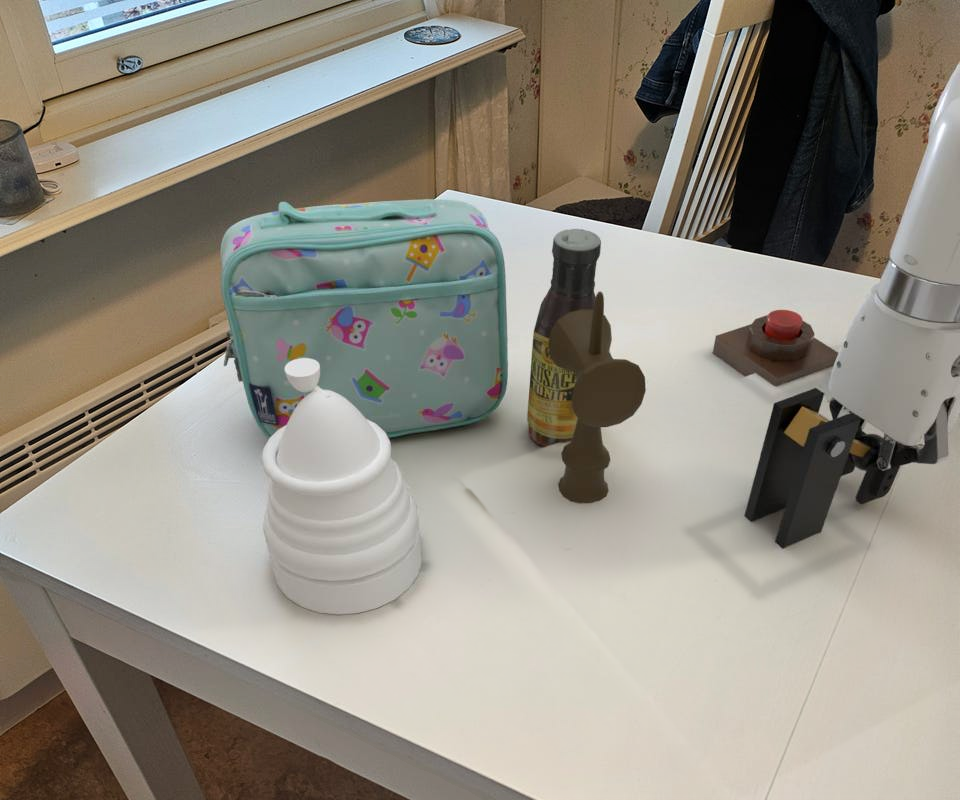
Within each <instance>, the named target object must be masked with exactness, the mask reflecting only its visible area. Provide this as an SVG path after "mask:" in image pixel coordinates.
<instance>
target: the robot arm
mask: <svg viewBox="0 0 960 800" xmlns="http://www.w3.org/2000/svg"><path fill="white" fill-rule="evenodd" d="M927 135H928V136H927V140H928V141H927V145H926V148H925V150H924V154H923V157H922V160H921V162H920V165H919V168H918V171H917V174H916V176H915V180H914V182H913V185H912V188H911V191H910V194H909V197H908V199H907V202H906V206H905V209H904V211H903V213H902V216H901V220H900V221H899V225H898V228H897V230H896V233H895V236H894V239H893V242H892V245H891V248H890V251H889V253H888V256H887V259H886V262H885V265H884V268H883V270H882V274H881V275H880V276H881V277H880V278H879V282H878V283H877V284H874V285H873V286H872V287H871V288H870V290H869V291H868V293H867V294H866V296H865V298H864V299H863V300H862V302H861V304H860V306H859V308H858V309H857V312H855V313H856V314H855V315H854V317H853V319H852V321H851V323H850V326H849V327H848V329H847V332H846V334H845V336H844V339H843V340H842V343H841V346H840V348H839V351H838V356H837V358H836V361H835V363H834V366H832V369H831V371H830V372H828V373H827V374H826V375H825V376H824V377H823V378H822V379H820V381H819V383H818V384H819V385H818V386H819V388H820V389H819V390H820V391H821V392H823V393H824V398H825V400H826V401H827V403H829V404H828V407H829V411H830V415H831V418H832V420H833V419H836V418H839V417H841V416H844V415H846V414H849V413H851V412H852V413H854V414H855V415H857V416H858V417H860V418H861V420H860V423H859V426H858V429H857V432H856V435H855V437H854V439H858V438H859V437H861V436H863V435H866V434H867V433H866V432H864V431H863V430H864V429H865V427H866V425H867V424H870V425H871V426H873V427H874V428H876V429H877V430H879V431H880V432H881V433H882V434H883V436H882V437H883V441H882V444H881V448H880V451H879V455H878V459H877V462H874V463H871V464H870V465H869V466H868V468H867V470H866V471H865V473H864V475H863V478H862V480H861V482H860V485H859V488H858V490H857V492H856V495H855V502H856V503H858V504H859V505H864V504H867V503H869V502H872V501H874V500H878V499H881V498H883V497H886V496H887V495H888V494H889V492H890V491H891V489H892V487H893V485H894V481H895V479H896V477H897V474H898V472H899V471H900V469H901V466H905V465H909V464H913V463H914V464H922V465H923V464H924V465H936V464H939V463H941V462H944V461H946V460H948V458H949V452H950V451H949V433H950V432H952V430H953V428H954V426H955V424H956V422H957V420H958V419H959V416H960V61H959V62H958V64H957V65H956V67H955V69H954V71H953V72H952V74H951V76H950V78H949V79H948V81H947V83H946V85H945V87H944V89H943V91H942V92H941V94H940V95H939V98H938V101H937V103H936V106H935V107H934V110H933V113H932V116H931V118H930V124H929V128H928V134H927ZM922 436H923V437H922ZM921 438H923V441H924V444H922V443H919V442H920V441H921ZM855 468H856V467H855V466H854V465H853V464H852V462H851V460H850V453H849V455H848V457H847V460H846V463H845V466H844V469H843V472H842V474H841V477H843V476H846V475H849V474H852V473H853V472H854V471H855Z"/></svg>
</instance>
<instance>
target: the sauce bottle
mask: <svg viewBox="0 0 960 800" xmlns="http://www.w3.org/2000/svg"><path fill="white" fill-rule="evenodd" d="M552 240H553V242H552V250H551V253H552V257H553V262H552V266H553V267H552V275H551V279H550V287H549V289H548V291H547V293H546V295H545V296H544V297H543V299H542V301H541V302H540V306H539V309H538V314H537V317H536V321H535V325H534V329H533V333H532V334H533V335H532V347H531V357H530V359H531V362H530V373H529V385H528V386H529V387H528V401H527V413H526V419H527V425H528V435H529V437H530V438H531V439H532V441H534V442H535V443H536V444H537V445H539V446H541V447H542V448H546V447H549V446H550V447H551V446H552V445H555V444H559V443H567V442H571V440H572V437H573V434H574V431H575V427H576V423H577V419H578V418H577V416H576V415H575V413H574V412H573V405H572V394H573V390H574V386H575V382H576V380H577V378H576V376H575V374H574V372H573V371H567V370H565V369H562V368H560V367H558V366H556V365H555V363H554V362H553V360H552V359H551V357H550V354H549V346H548V342H549V337H550V333H551V330H552V328H553V327H554V325H555V324H556V322H557V320H559V319H560V318H562V317H563V316H564V315H566V314H567V313H569V312H573V311H577V310H580V309H587V310H593V309H594V302H595V298H596V293H595V287H596V282H595V278H596V271H597V262H598V260H599V259H600V256H601V251H602V250H601V249H602V240H601V237H599V236H598V234H596V233H595V232H592V231H590V230H585V229H583V228H581V229H580V228H571V229H564V230H561V231H558V232H557V233H556V234H555V235H554V237H553V239H552Z"/></svg>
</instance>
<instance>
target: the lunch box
mask: <svg viewBox="0 0 960 800" xmlns="http://www.w3.org/2000/svg"><path fill="white" fill-rule="evenodd" d="M220 263H221V271H222V272H221V277H220V290H221V292H220V293H221V297H222V301H223V306H224V308H225V313H226V317H227V321H228V325H229V329H230V331H227V332H226V333H225V335H226V337H228V338H230V342H228V343H227V345H226V349H225V355H224V359H223V367H226V366H227V365H228V362H229V359H233V363H234V365H235V370H236V375H237V380H238V382H239V383H241V382H242V386H243V388H244V392H245V397H246V400H247V404H248V406H249V409H250V412H251V414H252V417H253V420H254V422H255V423H256V424H257V426H258V428H259V429H260V431H261V432H262V433H263V434H264V435H265V436H266V438H267V439H269V438H270V437H271V436H272V435H273V434H274V433H275V432H276V431H278V430H279V429H280V428H282V427H284V426H285V425H287V423H288V421H289V419H290V417H291V415H292V413H293V411H294V410H295V408H296V406H297V405H298V404H299V402H300V401H301V400H302V399H303V398H304V397H305V396H307V395H308V394H309V393H311V391H309V392H300V391H298V390H296V389H295V388H294V387H293V386H292V385H291V384H290V382H289V381H288V379H287V376H286V373H285V370H284V369H285V366H286V364H287V363H289V362H290V361H292V360H295V359H299V358H310V359H314V360H316V361H317V362H318V363H319V365H320V378H319V381H318V384H317V386H319V387H320V388H321V389H322V390H330V391H333V392H335V393H338V394H340V395H341V396H343V397H344V398H346V399H347V400H348V401H349V402H350V403H352V404H353V405H354V406H355V407H356V408H357V409H358V410H359V411H360V412H361V414H362V415H363V416H364V417H365V418H366V419H368V420H370V421H372V422H374V423H376V424H377V425H378V426H379V427H380V428H381V429H382V430H383V431H384V432H385V433H386V435H387V437H388V438H389V439H390V438H391V439H392V438H395V437H401V436H404V435H410V434H419V433H423V432H431V431H432V432H433V431H439V430H443V429H448V428H454V427H459V426H460V427H461V426H467V425H471V424H475V423H476V422H479V421H481V420H482V419H484V418H486V417H488V416H489V415H490V414H491V413H493V412H494V411H495V410H496V409H497V408H498V407H499V406H500V404H501V402H502V400H503V399H504V396H505V395H506V392H507V388H508V379H509V359H508V356H509V355H508V354H509V353H508V352H509V351H508V348H509V347H508V341H509V340H508V339H509V338H508V312H507V311H508V310H507V285H506V284H507V282H506V265H505V257H504V252H503V248H502V245H501V243H500V241H499V238H498V237H497V236H496V234H494V233H493V231H491V230H490V226H489V223H488V222H487V219H486V217H485V216H484V214H483V213H482V212H481V211H480V210H479V209H478V208H477V207H476V206H474V205H473V204H470V203H468V202H465V201H461V200H456V199H438V198H436V199H434V198H430V199H429V198H425V199H424V198H423V199H404V200H402V199H401V200H384V201H372V202H369V201H368V202H358V203H343V204H327V205H317V206H307V207H306V206H305V207H298V208H294V207H293V206H292V205H291V204H290V203H288V202H286V201H280V203H278V210H276V211H271V212H266V213H262V214H257V215H253V216H250V217H246V218H244V219H241V220H240V221H238V222H236V223H234V224H233V225H231V226H230V227H229V228H227V230H226V232H225V233H224V235H223V237H222V240H221V245H220Z"/></svg>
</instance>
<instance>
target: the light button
mask: <svg viewBox="0 0 960 800" xmlns="http://www.w3.org/2000/svg"><path fill="white" fill-rule="evenodd" d="M767 315H768V317H767V321H766V325H765V329H764V332H765V334H766V335H768V336H769V337H771V338H775V339H779V340H793V339H796V338H797V337H798V336H799V333H800V329H801V325H802V321H804V319H803V317H802V315H800V314H799V313H797V312H795V311H793V310H789V309H776V310H772V311H770V312H769V313H768V314H767Z"/></svg>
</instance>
